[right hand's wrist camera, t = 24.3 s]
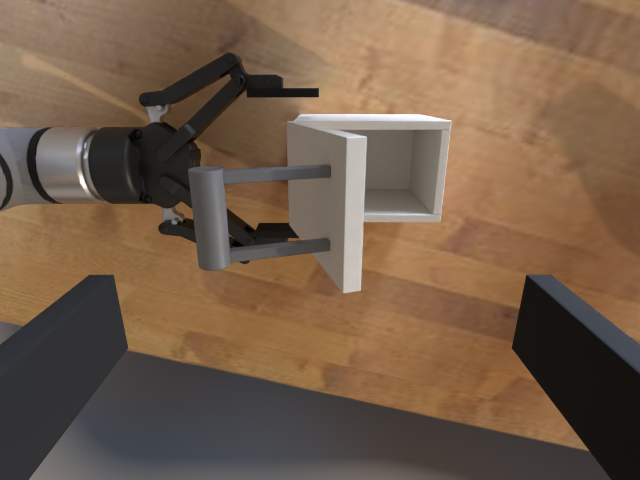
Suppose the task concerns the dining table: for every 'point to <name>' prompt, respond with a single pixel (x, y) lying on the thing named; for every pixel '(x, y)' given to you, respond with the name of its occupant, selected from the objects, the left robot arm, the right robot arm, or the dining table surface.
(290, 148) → the cabinet door with handle
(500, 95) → the dining table surface
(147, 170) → the left robot arm
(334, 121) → the chest
